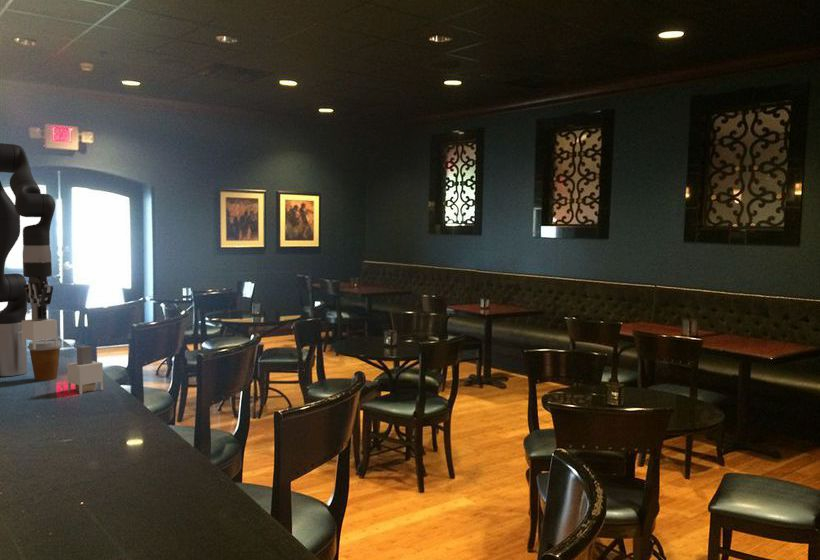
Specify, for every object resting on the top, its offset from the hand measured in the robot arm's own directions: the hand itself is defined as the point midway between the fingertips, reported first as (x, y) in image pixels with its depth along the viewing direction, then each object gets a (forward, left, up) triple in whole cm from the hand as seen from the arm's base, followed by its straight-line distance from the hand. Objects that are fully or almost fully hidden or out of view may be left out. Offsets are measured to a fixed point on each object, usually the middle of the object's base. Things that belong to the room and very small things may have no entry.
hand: (39, 318), depth 206 cm
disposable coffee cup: (-12, +7, -21) cm, 25 cm away
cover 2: (+14, +6, -21) cm, 26 cm away
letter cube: (+14, +6, -21) cm, 26 cm away
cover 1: (0, 0, -9) cm, 9 cm away
